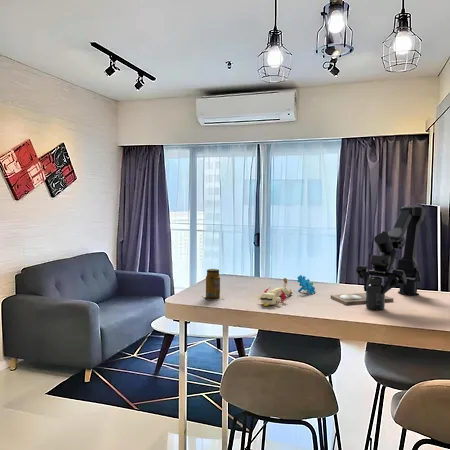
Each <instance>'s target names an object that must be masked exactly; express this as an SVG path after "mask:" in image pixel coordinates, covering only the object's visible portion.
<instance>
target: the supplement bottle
mask: <svg viewBox="0 0 450 450" xmlns="http://www.w3.org/2000/svg"><path fill="white" fill-rule="evenodd" d="M384 286H385V285H384V284H383V277H377V276H370V277H369V284H368V285H367V286H366V291H365V293H366V303H365V307H366V309H368V310H370V311H383V310H384V309H385V305H386V304H385V303H386V302H385V296H386V295H385V294H386V293H385V294H382V291H383V288H384Z"/></svg>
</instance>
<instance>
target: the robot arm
mask: <svg viewBox="0 0 450 450" xmlns="http://www.w3.org/2000/svg"><path fill="white" fill-rule="evenodd" d="M399 211H400V212H399V214H398V217H397V218H396V221H395V223H394V225H393V228H392V229H391V230H389V231H385V230H382V231H381V233H378V234H377V235H375V236H374V239H373V240H374V241H373V242H374V243H375V245H376V247H377V250H378V252H380V255H377V254H376V255H375V254H371V256H370V261H369V263H370V264H371V265H372V267H371V268H372V269H369V267H368V266H367V265H357V266H356V268H355V272H356V274H357V276H358V278H359V279H362V280H363V291H364V292H366V286H367V285H368V284H369V277H381V278H386V282H385V284H384V285H383V286H384V288H383V291H382V294H386V293H387V292H388V291H390V290H391V289H393V288H394V287H396V286H399V290H398V291H397V293H399V294H401V295H403V296H407V297H408V296H418V295H420V293H418V282H419V283H420V282H422V275H421V272H420V270H419V264H418V262H417V260H416V253H417V247H418V245H417V244H418V237H419V236H418V235H419V230H420V225H421V224H422V223H423V222H424V220H425V216H426V215H427V209H426V207H424V206H423V205H413V204H412V205H411V204H410V205H407V206H405V205H404V206H401V207H400V210H399ZM405 233H406V234H405ZM403 247H404V250H403V256H402V257H401V259H399V260H398V257H399V256H398V251H397V250H402V249H403ZM396 259H397V260H398V262H397V267H396V269H394V266H393V265H394V263H395V261H396ZM391 271H392V272H391Z"/></svg>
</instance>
